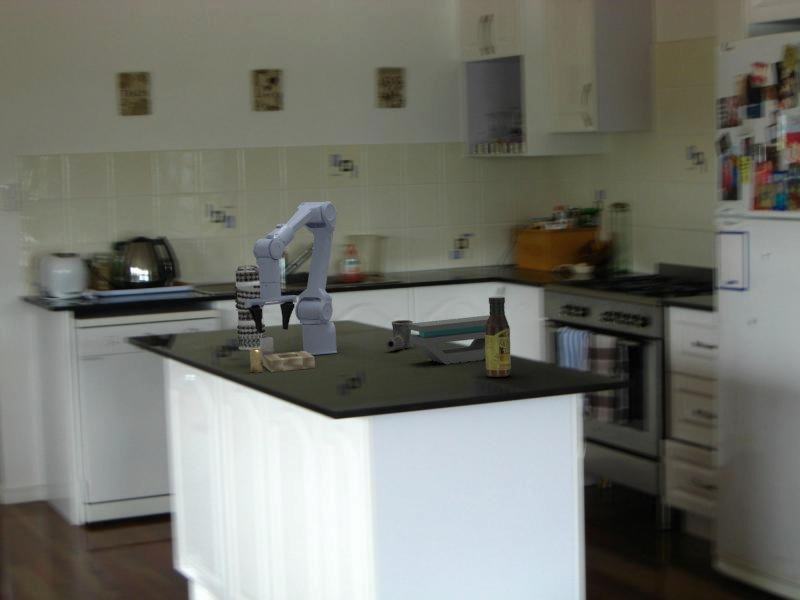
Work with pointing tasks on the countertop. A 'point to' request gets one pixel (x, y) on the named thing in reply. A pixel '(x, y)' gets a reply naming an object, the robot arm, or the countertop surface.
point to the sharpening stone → (451, 338)
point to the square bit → (266, 346)
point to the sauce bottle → (497, 340)
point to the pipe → (399, 335)
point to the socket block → (288, 361)
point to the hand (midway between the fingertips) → (272, 330)
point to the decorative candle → (244, 291)
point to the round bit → (256, 360)
